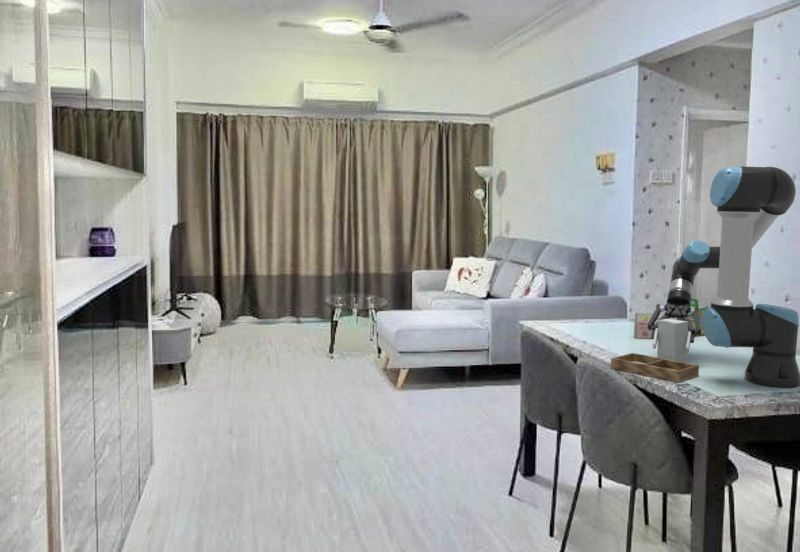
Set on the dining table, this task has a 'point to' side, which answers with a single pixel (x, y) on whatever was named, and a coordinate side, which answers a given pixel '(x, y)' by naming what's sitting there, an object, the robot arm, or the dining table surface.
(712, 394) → the dining table surface
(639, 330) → the beige printed box
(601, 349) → the dining table surface
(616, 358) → the wooden divided tray
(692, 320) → the chalk box
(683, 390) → the dining table surface
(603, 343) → the dining table surface
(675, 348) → the skincare box
